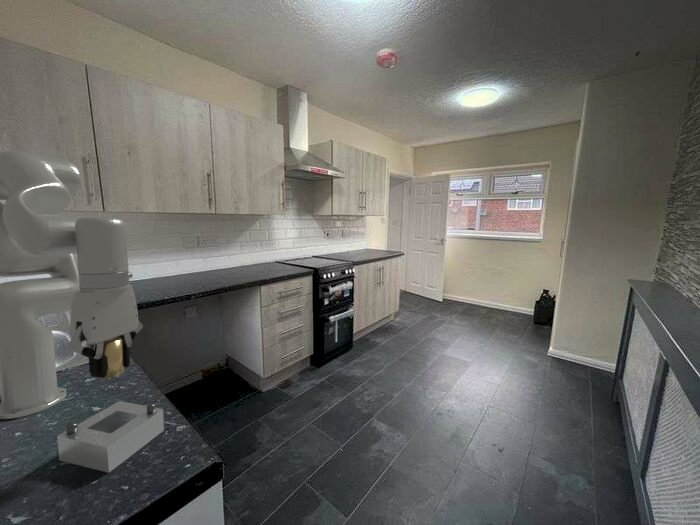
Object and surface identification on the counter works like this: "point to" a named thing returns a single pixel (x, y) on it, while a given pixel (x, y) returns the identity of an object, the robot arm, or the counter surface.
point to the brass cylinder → (113, 357)
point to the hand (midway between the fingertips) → (111, 370)
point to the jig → (110, 435)
